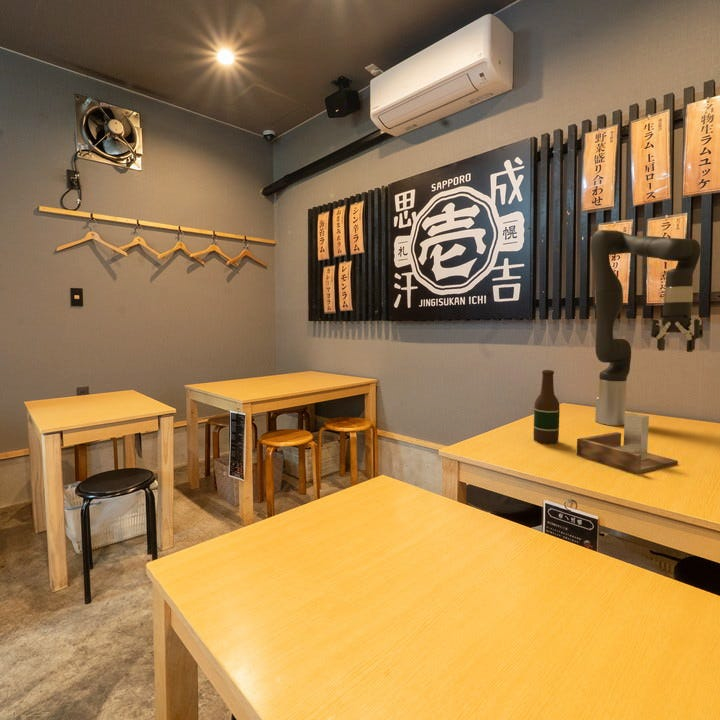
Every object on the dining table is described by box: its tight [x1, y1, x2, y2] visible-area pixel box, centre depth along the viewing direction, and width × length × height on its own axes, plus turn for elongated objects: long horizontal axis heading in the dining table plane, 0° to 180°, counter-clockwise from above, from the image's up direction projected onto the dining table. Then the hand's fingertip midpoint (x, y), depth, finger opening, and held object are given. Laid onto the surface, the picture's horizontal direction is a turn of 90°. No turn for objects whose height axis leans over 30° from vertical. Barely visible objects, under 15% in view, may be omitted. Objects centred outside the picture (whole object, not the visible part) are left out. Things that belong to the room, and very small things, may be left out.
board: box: [576, 446, 679, 475], centre depth 124 cm, size 18×18×1 cm
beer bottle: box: [533, 369, 561, 445], centre depth 143 cm, size 8×8×24 cm
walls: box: [576, 431, 641, 470], centre depth 124 cm, size 18×18×4 cm
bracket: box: [614, 412, 650, 458], centre depth 123 cm, size 9×5×12 cm, turn 115°
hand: (675, 351), depth 140 cm, fingers open, 8 cm apart
